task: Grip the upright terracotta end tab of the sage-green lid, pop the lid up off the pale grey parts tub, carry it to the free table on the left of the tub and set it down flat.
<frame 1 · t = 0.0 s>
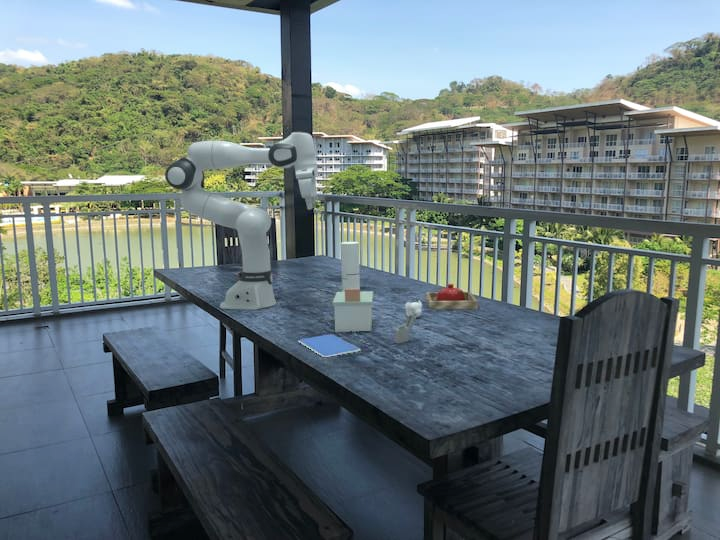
hand: (311, 208, 218), 39 cm above the table, tool pointing down, fingers open, 8 cm apart
parts tub: (354, 325, 191), on the table
wooden frame: (450, 303, 220), on the table
cylindrical container: (351, 304, 223), on the table
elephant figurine: (413, 317, 201), on the table
lighter: (405, 341, 171), on the table
lid: (353, 300, 189), point 9 cm above the table, touching parts tub
butter dish: (450, 305, 220), resting in wooden frame
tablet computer: (328, 348, 168), on the table
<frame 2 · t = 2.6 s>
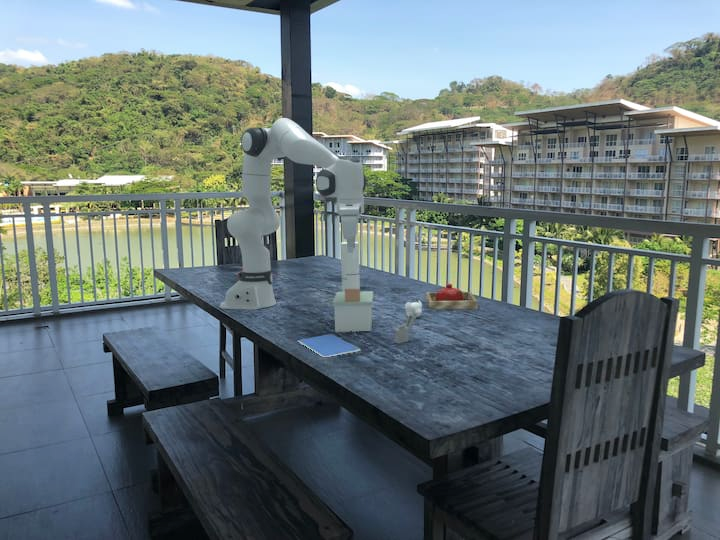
hand: (351, 250, 180), 27 cm above the table, tool pointing down, fingers open, 8 cm apart
nothing on the table moved.
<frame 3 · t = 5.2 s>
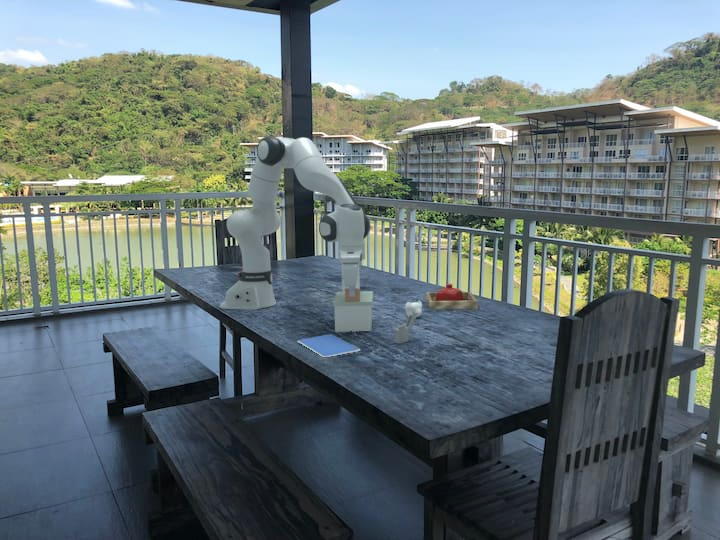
hand: (352, 295, 182), 12 cm above the table, tool pointing down, fingers closed on lid
lid: (353, 300, 189), point 9 cm above the table, touching gripper, parts tub
everything else where it was.
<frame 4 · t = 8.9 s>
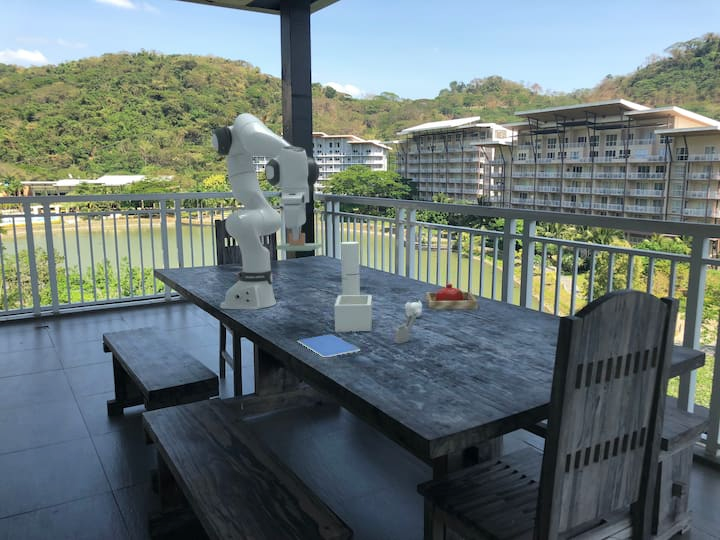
hand: (297, 239, 180), 31 cm above the table, tool pointing down, fingers closed on lid
lid: (300, 248, 187), point 27 cm above the table, touching gripper
everything else where it was.
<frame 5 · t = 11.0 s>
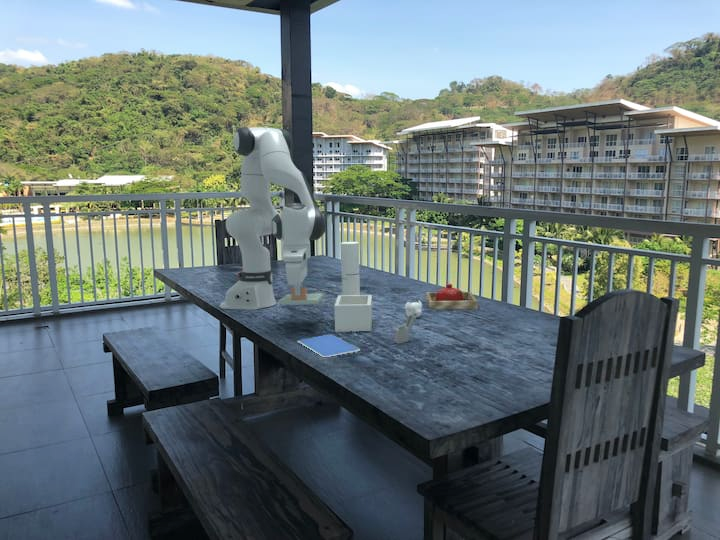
hand: (298, 294, 183), 13 cm above the table, tool pointing down, fingers closed on lid
lid: (302, 300, 190), point 9 cm above the table, touching gripper
everything else where it was.
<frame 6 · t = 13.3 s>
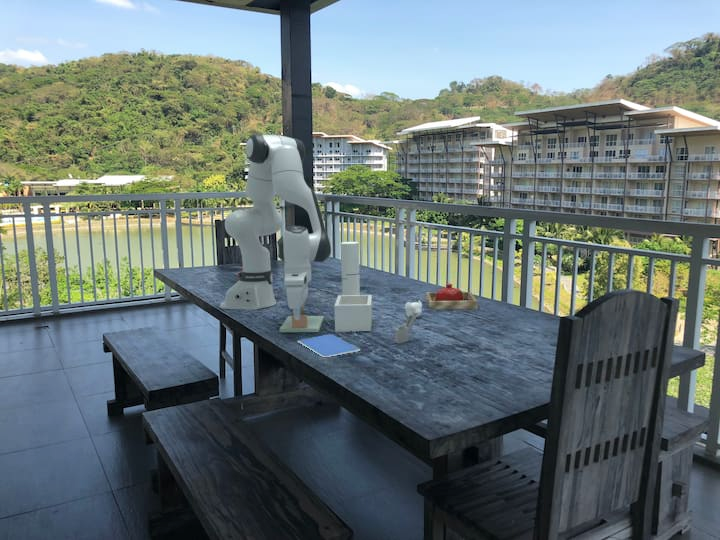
hand: (299, 316, 184), 5 cm above the table, tool pointing down, fingers open, 8 cm apart
lid: (302, 325, 191), on the table
everything else where it was.
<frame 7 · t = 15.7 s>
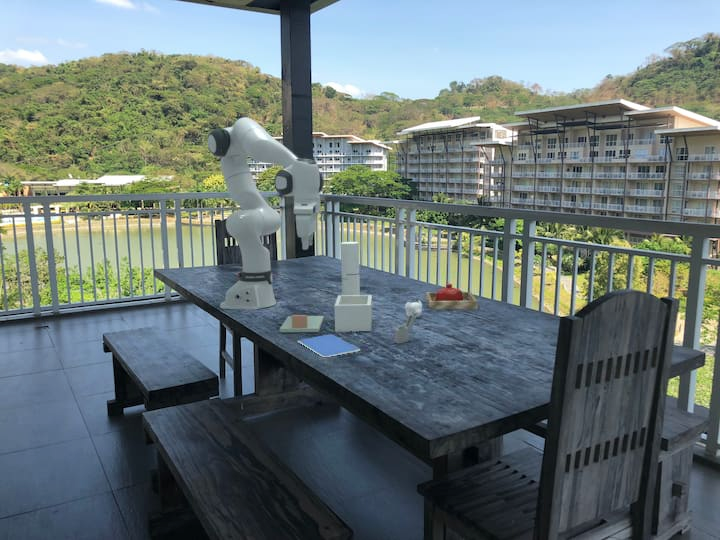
hand: (307, 247, 190), 27 cm above the table, tool pointing down, fingers open, 8 cm apart
nothing on the table moved.
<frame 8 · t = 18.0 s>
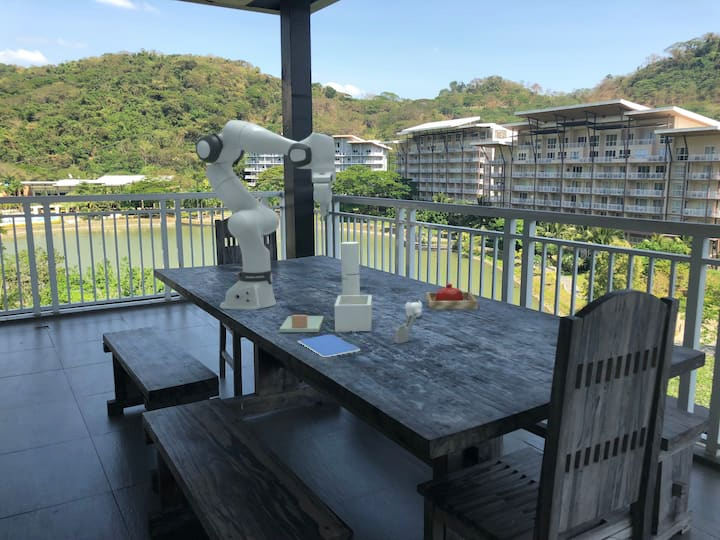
hand: (325, 215, 203), 37 cm above the table, tool pointing down, fingers open, 8 cm apart
nothing on the table moved.
at the end: lid inside the target area (0.6 cm from its centre), on the table; lid tilted 0°; the gripper is holding nothing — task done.
